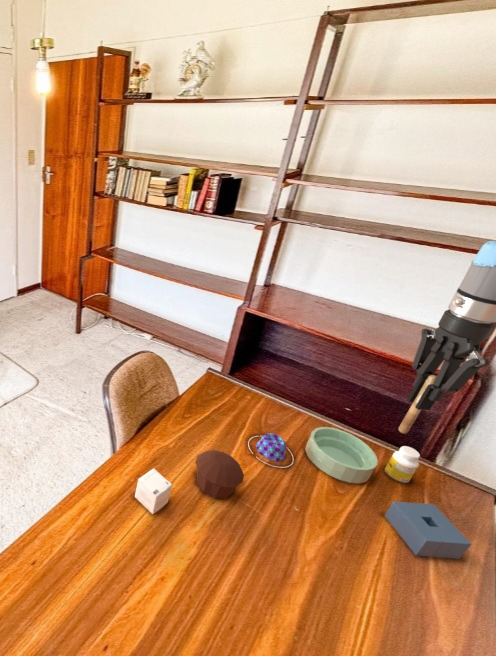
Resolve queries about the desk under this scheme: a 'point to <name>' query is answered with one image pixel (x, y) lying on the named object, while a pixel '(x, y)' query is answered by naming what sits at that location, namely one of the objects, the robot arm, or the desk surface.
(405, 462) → the supplement bottle
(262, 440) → the checkered ringed planet
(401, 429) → the stick
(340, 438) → the bowl
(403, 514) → the block
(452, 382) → the robot arm
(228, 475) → the muffin
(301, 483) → the desk surface
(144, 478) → the product carton
